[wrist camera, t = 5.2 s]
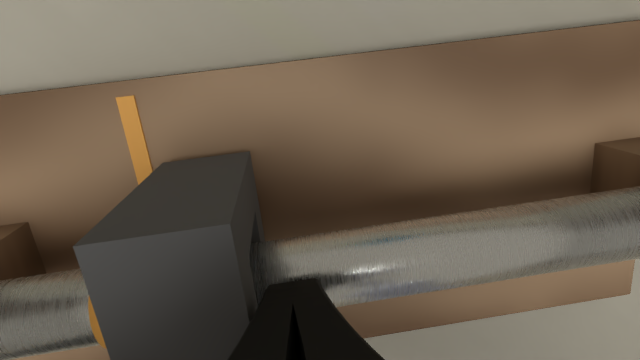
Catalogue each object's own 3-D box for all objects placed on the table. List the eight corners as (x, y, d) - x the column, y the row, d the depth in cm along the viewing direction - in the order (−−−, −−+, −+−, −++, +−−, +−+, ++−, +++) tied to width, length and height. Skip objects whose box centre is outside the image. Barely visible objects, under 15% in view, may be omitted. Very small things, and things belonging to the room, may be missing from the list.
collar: (276, 307, 16) (276, 463, 10) (200, 319, 16) (152, 486, 10) (249, 151, 14) (230, 223, 8) (162, 162, 14) (72, 246, 8)
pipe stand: (609, 280, 20) (760, 381, 14) (41, 372, 18) (-81, 537, 12) (641, 19, 16) (866, -4, 10) (-67, 103, 14) (-325, 137, 8)
